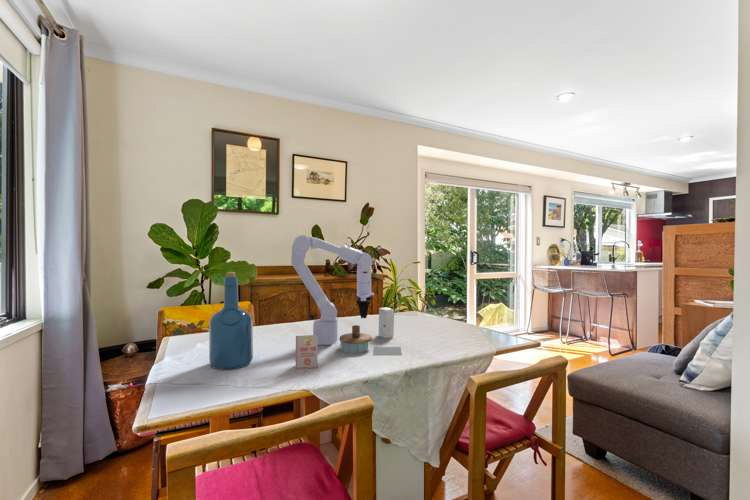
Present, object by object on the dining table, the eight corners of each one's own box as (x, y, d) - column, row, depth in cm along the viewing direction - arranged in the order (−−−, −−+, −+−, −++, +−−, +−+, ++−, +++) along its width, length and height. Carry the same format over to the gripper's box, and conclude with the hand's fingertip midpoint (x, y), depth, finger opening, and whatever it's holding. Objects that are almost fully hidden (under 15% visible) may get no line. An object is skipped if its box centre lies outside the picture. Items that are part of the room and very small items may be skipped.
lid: (337, 343, 130) (337, 329, 130) (342, 334, 142) (342, 322, 142) (371, 343, 129) (371, 330, 129) (373, 335, 141) (373, 322, 141)
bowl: (339, 354, 131) (339, 342, 131) (342, 346, 141) (342, 335, 141) (367, 354, 131) (367, 342, 130) (368, 346, 141) (368, 335, 140)
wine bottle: (210, 360, 124) (209, 271, 124) (252, 355, 129) (251, 270, 128) (207, 373, 111) (206, 274, 111) (253, 368, 116) (253, 273, 115)
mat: (373, 356, 128) (373, 355, 127) (373, 348, 138) (373, 346, 137) (402, 356, 127) (402, 355, 127) (400, 348, 137) (400, 346, 137)
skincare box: (377, 336, 155) (377, 307, 155) (387, 335, 157) (387, 306, 157) (385, 339, 150) (385, 310, 149) (394, 338, 152) (394, 309, 152)
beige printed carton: (296, 365, 119) (296, 334, 119) (317, 364, 120) (317, 333, 120) (295, 369, 115) (295, 337, 115) (317, 367, 117) (317, 336, 116)
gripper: (373, 284, 141) (373, 319, 141) (374, 280, 155) (374, 312, 156) (355, 284, 141) (355, 319, 141) (357, 280, 155) (357, 312, 156)
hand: (364, 316), depth 148 cm, fingers open, 7 cm apart
